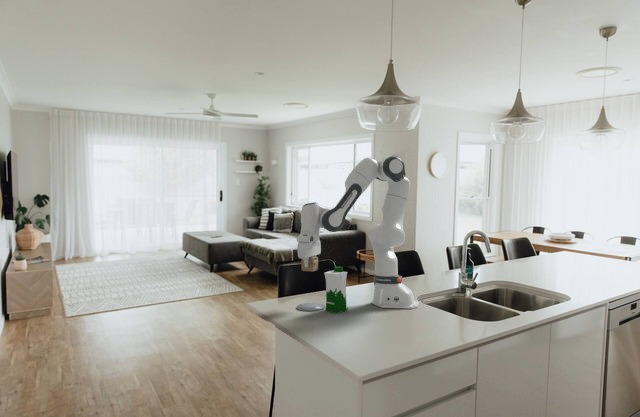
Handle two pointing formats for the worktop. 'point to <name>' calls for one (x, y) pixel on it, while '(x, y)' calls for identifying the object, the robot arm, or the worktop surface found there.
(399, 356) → the worktop surface
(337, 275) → the soya milk
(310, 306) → the coaster
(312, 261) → the letter cube
